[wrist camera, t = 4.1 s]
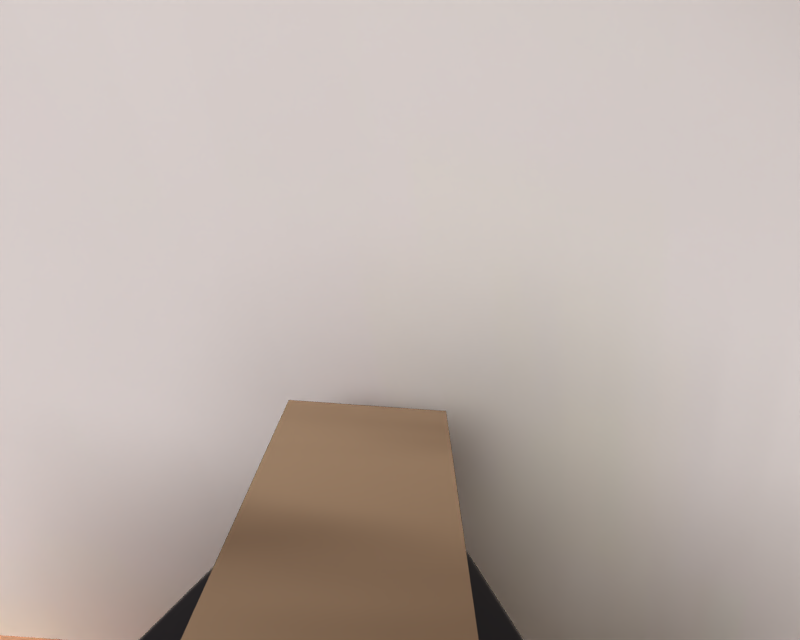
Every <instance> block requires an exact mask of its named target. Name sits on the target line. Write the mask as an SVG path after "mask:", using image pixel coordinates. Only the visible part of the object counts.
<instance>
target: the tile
mask: <svg viewBox="0 0 800 640" xmlns="http://www.w3.org/2000/svg"><path fill="white" fill-rule="evenodd" d="M0 640H60V639H45V638H30V637H15V636H0Z"/></svg>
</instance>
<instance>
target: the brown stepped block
mask: <svg viewBox="0 0 800 640" xmlns="http://www.w3.org/2000/svg"><path fill="white" fill-rule="evenodd" d="M181 640H479V639H478V632H477V625H476V618H475V611H474V604H473V597H472V590H471V583H470V576H469V569H468V562H467V555H466V548H465V541H464V534H463V527H462V520H461V513H460V506H459V499H458V492H457V485H456V478H455V471H454V464H453V457H452V450H451V443H450V436H449V429H448V422H447V415H446V411H437V410H422V409H408V408H394V407H379V406H365V405H351V404H337V403H322V402H308V401H294V400H289V401H288V403H287V405H286V408H285V410H284V412H283V414H282V416H281V419H280V421H279V423H278V425H277V428H276V430H275V432H274V434H273V436H272V439H271V441H270V443H269V445H268V447H267V450H266V452H265V454H264V456H263V459H262V461H261V463H260V465H259V467H258V470H257V472H256V474H255V476H254V478H253V481H252V483H251V485H250V487H249V490H248V492H247V494H246V496H245V498H244V501H243V503H242V505H241V507H240V509H239V512H238V514H237V516H236V518H235V521H234V523H233V525H232V527H231V529H230V532H229V534H228V536H227V538H226V541H225V543H224V545H223V547H222V549H221V552H220V554H219V556H218V558H217V560H216V563H215V565H214V567H213V569H212V572H211V574H210V576H209V578H208V580H207V583H206V585H205V587H204V589H203V591H202V594H201V596H200V598H199V600H198V603H197V605H196V607H195V609H194V611H193V614H192V616H191V618H190V620H189V623H188V625H187V627H186V629H185V631H184V634H183V636H182V638H181Z"/></svg>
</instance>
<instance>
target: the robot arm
mask: <svg viewBox="0 0 800 640" xmlns="http://www.w3.org/2000/svg"><path fill="white" fill-rule="evenodd" d="M466 555H467V562H468V569H469V576H470V583H471V590H472V597H473V604H474V611H475V618H476V625H477V632H478V639H479V640H523V639H522V637H521V635H520V634H519V632H518V631H517V629H516V628H515V626H514V624H513V623H512V621H511V620H510V618H509V617H508V615H507V613H506V612H505V610H504V609H503V607H502V606H501V604H500V602H499V601H498V599H497V598H496V596H495V595H494V593H493V592H492V590H491V588H490V587H489V585H488V584H487V582H486V581H485V579H484V577H483V576H482V574H481V573H480V571H479V570H478V568H477V566H476V565H475V563H474V562H473V560H472V559H471V557H470V555H469V554H468V552H467V551H466ZM212 569H213V568H212ZM212 569H211V570H210V571H209V572H208V573H207V574H206V575H205V576H204V577H203V578H202V579H201V580H200V581H199V582H198V583H197V584H196V585H194V586H193V587H192V588H191V589H190V590H189V591H188V592H187V593H186V594H185V595H184V596H183V597H182V598H181V599H180V600H179V601H178V602H177V603H176V604H175V605H174V606H173V607H172V608H171V609H170V610H169V611H168V612H167V613H166V614H165V615H164V616H163V617H162V618H161V619H160V620H159V621H158V622H157V623H156V624H155V625H154V626H153V627H152V628H151V629H150V630H149V631H148V632H147V633H146V634H145V635H144V636H143V637H142V638H141V639H140V640H181V638H182V636H183V634H184V631H185V629H186V627H187V625H188V623H189V620H190V618H191V616H192V614H193V611H194V609H195V607H196V605H197V603H198V600H199V598H200V596H201V594H202V591H203V589H204V587H205V585H206V583H207V580H208V578H209V576H210V574H211V572H212Z"/></svg>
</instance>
